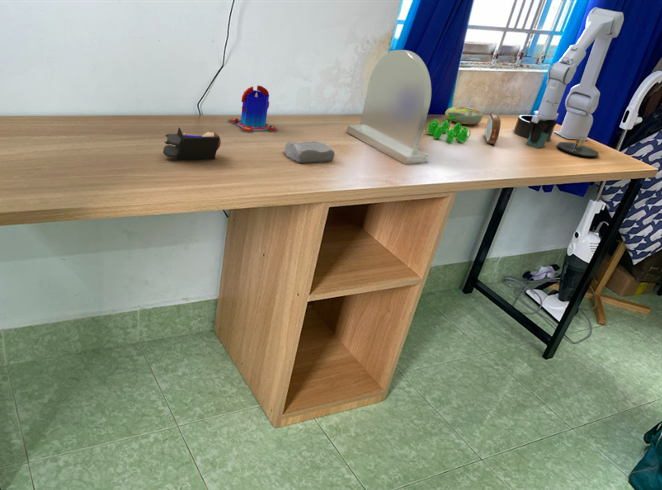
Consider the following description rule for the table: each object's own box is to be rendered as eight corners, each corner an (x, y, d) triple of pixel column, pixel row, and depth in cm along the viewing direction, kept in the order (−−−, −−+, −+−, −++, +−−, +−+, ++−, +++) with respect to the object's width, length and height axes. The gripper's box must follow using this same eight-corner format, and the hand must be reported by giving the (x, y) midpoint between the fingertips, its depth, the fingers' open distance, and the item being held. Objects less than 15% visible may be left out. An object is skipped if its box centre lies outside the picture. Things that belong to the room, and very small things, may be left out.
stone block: (280, 158, 171) (298, 163, 162) (281, 140, 169) (299, 145, 161) (316, 157, 176) (335, 163, 168) (318, 140, 174) (337, 145, 166)
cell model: (437, 110, 225) (471, 95, 228) (441, 130, 228) (474, 116, 231) (455, 113, 215) (490, 97, 218) (459, 134, 219) (493, 119, 222)
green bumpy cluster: (451, 147, 196) (457, 125, 192) (414, 132, 205) (420, 111, 201) (477, 142, 205) (483, 121, 201) (440, 128, 214) (446, 108, 210)
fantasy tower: (244, 132, 180) (249, 91, 174) (227, 120, 188) (230, 79, 182) (279, 131, 186) (284, 90, 179) (260, 119, 194) (265, 80, 188)
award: (427, 162, 180) (453, 63, 165) (405, 164, 175) (430, 63, 161) (367, 131, 199) (386, 40, 184) (346, 132, 194) (364, 39, 180)
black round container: (537, 130, 229) (542, 116, 226) (556, 142, 219) (562, 127, 216) (507, 128, 226) (512, 113, 223) (525, 139, 216) (531, 124, 213)
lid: (579, 145, 219) (585, 133, 216) (606, 159, 208) (611, 146, 206) (548, 144, 215) (553, 131, 212) (573, 158, 204) (578, 144, 202)
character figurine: (160, 155, 156) (215, 154, 162) (168, 163, 150) (225, 162, 157) (160, 124, 152) (217, 124, 159) (168, 131, 147) (227, 131, 153)
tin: (495, 147, 202) (503, 122, 198) (485, 145, 203) (493, 120, 198) (491, 135, 215) (498, 111, 211) (482, 133, 215) (489, 109, 211)
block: (532, 142, 214) (536, 130, 212) (544, 146, 211) (548, 134, 209) (526, 144, 211) (530, 131, 209) (537, 148, 209) (542, 135, 206)
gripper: (550, 96, 210) (536, 135, 217) (529, 99, 201) (515, 139, 208) (569, 102, 206) (554, 141, 213) (549, 105, 197) (534, 146, 204)
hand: (536, 141), depth 211 cm, fingers closed on block, 4 cm apart
